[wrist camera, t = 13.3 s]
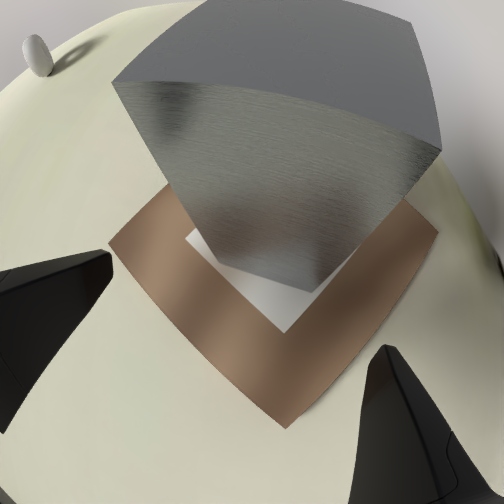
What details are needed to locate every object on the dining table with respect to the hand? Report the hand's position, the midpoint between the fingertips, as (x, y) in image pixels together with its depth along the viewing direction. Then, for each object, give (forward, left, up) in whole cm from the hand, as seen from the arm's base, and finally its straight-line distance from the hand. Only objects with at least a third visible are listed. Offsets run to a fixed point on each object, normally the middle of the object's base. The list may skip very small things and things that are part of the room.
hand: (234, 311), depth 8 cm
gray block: (+2, -5, -7) cm, 9 cm away
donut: (+53, -3, -9) cm, 54 cm away
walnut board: (+2, -5, -9) cm, 10 cm away
